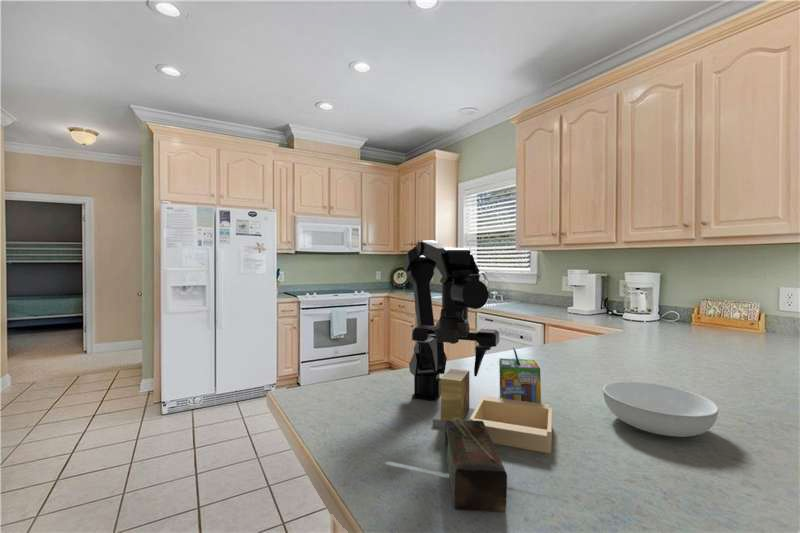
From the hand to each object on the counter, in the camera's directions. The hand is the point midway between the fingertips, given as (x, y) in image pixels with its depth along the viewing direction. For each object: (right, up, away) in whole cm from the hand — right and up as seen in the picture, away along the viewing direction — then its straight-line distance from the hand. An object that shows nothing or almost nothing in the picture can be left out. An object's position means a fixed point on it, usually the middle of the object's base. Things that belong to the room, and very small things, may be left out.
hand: (455, 373), depth 85 cm
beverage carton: (0, -12, -20) cm, 23 cm away
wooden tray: (+11, -11, -5) cm, 17 cm away
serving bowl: (+44, -12, -1) cm, 46 cm away
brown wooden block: (0, -9, +1) cm, 9 cm away
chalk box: (+17, -12, +9) cm, 23 cm away
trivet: (0, -11, +1) cm, 11 cm away
